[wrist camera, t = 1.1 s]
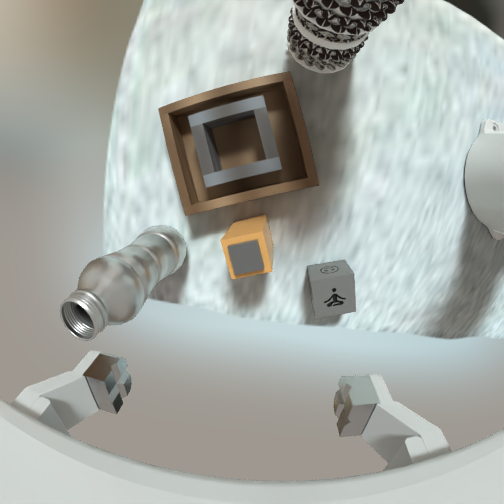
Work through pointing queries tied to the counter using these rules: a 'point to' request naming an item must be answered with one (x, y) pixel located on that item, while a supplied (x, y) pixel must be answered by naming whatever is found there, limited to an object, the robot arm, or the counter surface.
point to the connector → (248, 247)
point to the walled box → (238, 143)
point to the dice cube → (332, 288)
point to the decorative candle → (333, 30)
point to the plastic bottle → (122, 282)
